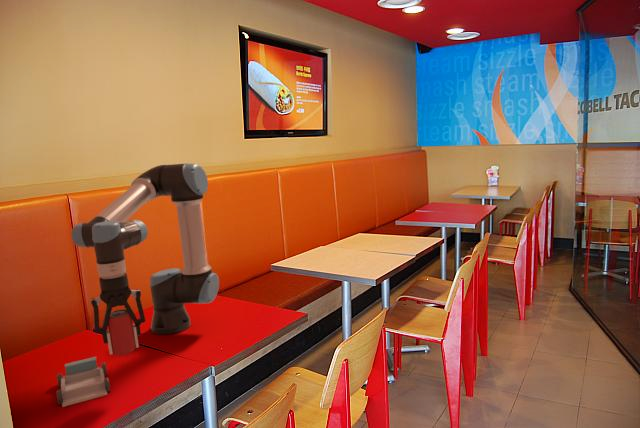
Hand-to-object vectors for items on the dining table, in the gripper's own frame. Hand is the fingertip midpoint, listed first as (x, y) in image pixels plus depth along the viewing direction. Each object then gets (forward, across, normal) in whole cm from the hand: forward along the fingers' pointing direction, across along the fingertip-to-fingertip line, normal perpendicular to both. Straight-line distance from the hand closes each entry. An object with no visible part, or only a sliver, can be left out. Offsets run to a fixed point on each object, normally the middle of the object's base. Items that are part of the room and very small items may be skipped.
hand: (124, 349), depth 148 cm
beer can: (+1, 0, 0) cm, 1 cm away
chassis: (+13, -12, +10) cm, 21 cm away
